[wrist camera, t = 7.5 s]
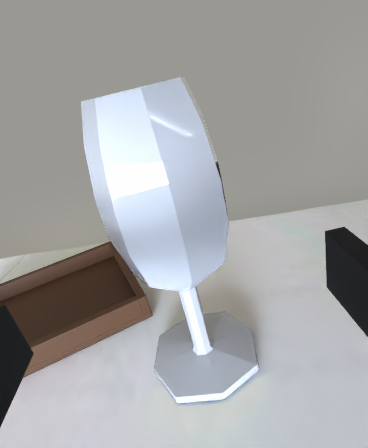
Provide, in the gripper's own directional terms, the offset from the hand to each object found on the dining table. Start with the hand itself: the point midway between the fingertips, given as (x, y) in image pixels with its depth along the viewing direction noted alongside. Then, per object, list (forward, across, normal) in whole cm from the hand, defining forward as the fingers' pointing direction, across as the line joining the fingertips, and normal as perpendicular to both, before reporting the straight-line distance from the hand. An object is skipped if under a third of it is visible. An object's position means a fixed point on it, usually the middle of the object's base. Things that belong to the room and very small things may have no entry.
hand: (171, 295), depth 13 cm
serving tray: (+19, -17, -13) cm, 29 cm away
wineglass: (+8, 0, -13) cm, 16 cm away
